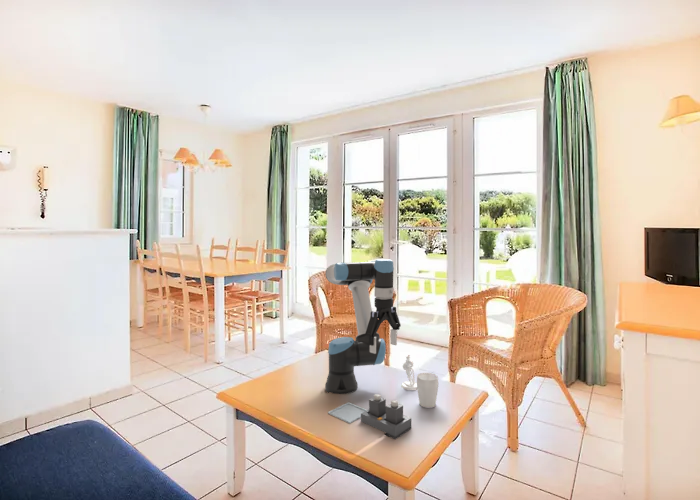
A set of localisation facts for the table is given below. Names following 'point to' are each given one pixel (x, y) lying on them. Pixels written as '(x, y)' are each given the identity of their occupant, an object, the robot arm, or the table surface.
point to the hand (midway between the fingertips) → (383, 348)
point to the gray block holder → (384, 418)
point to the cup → (427, 389)
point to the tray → (347, 412)
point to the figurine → (409, 375)
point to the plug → (394, 412)
